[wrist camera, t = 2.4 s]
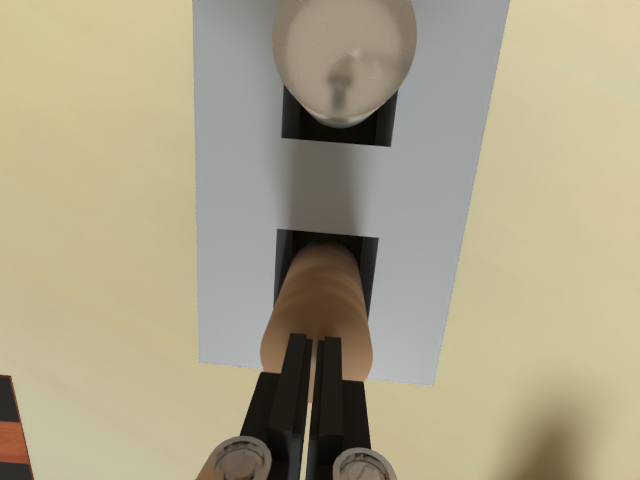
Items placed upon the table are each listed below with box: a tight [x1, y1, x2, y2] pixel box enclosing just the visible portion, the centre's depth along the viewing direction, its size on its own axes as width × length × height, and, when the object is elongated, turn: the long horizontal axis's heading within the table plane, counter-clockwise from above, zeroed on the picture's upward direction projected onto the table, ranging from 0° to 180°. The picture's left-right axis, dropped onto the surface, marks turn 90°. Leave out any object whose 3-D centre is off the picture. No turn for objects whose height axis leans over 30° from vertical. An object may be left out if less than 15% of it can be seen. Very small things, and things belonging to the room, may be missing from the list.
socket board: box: [193, 0, 510, 386], centre depth 22 cm, size 14×22×8 cm, turn 175°
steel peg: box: [272, 0, 417, 129], centre depth 13 cm, size 4×4×8 cm
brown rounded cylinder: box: [260, 241, 373, 403], centre depth 16 cm, size 4×4×8 cm
